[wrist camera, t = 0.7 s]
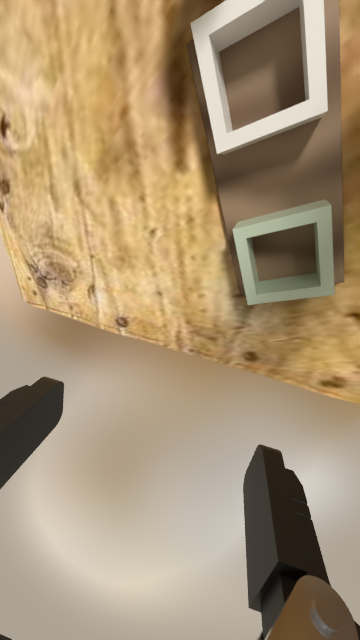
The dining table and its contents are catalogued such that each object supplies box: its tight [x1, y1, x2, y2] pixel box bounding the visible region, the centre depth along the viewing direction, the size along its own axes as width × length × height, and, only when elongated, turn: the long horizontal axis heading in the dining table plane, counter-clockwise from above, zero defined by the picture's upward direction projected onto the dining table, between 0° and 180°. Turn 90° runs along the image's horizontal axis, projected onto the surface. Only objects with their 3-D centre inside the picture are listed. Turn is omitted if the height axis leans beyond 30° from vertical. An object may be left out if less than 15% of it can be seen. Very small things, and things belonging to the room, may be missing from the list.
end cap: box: [232, 199, 335, 305], centre depth 28 cm, size 9×9×4 cm
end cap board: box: [187, 0, 344, 296], centre depth 27 cm, size 26×12×1 cm, turn 18°
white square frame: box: [190, 0, 328, 154], centre depth 21 cm, size 9×9×4 cm
